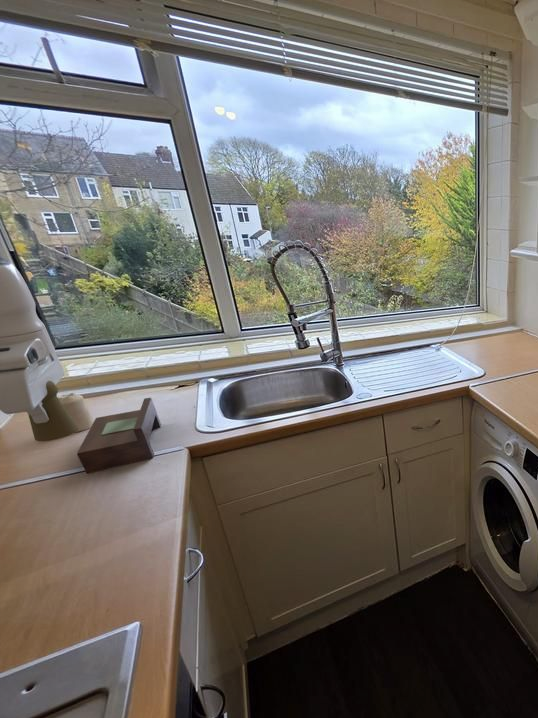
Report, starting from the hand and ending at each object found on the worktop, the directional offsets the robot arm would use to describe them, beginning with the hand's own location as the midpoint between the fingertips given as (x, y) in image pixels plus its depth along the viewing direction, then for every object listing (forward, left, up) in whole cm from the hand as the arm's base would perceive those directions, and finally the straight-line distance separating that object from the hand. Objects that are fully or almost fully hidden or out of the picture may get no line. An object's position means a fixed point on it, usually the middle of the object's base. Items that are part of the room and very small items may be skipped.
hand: (48, 415), depth 78 cm
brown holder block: (+4, +21, -20) cm, 29 cm away
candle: (-8, +40, -20) cm, 45 cm away
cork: (0, 0, -4) cm, 4 cm away
